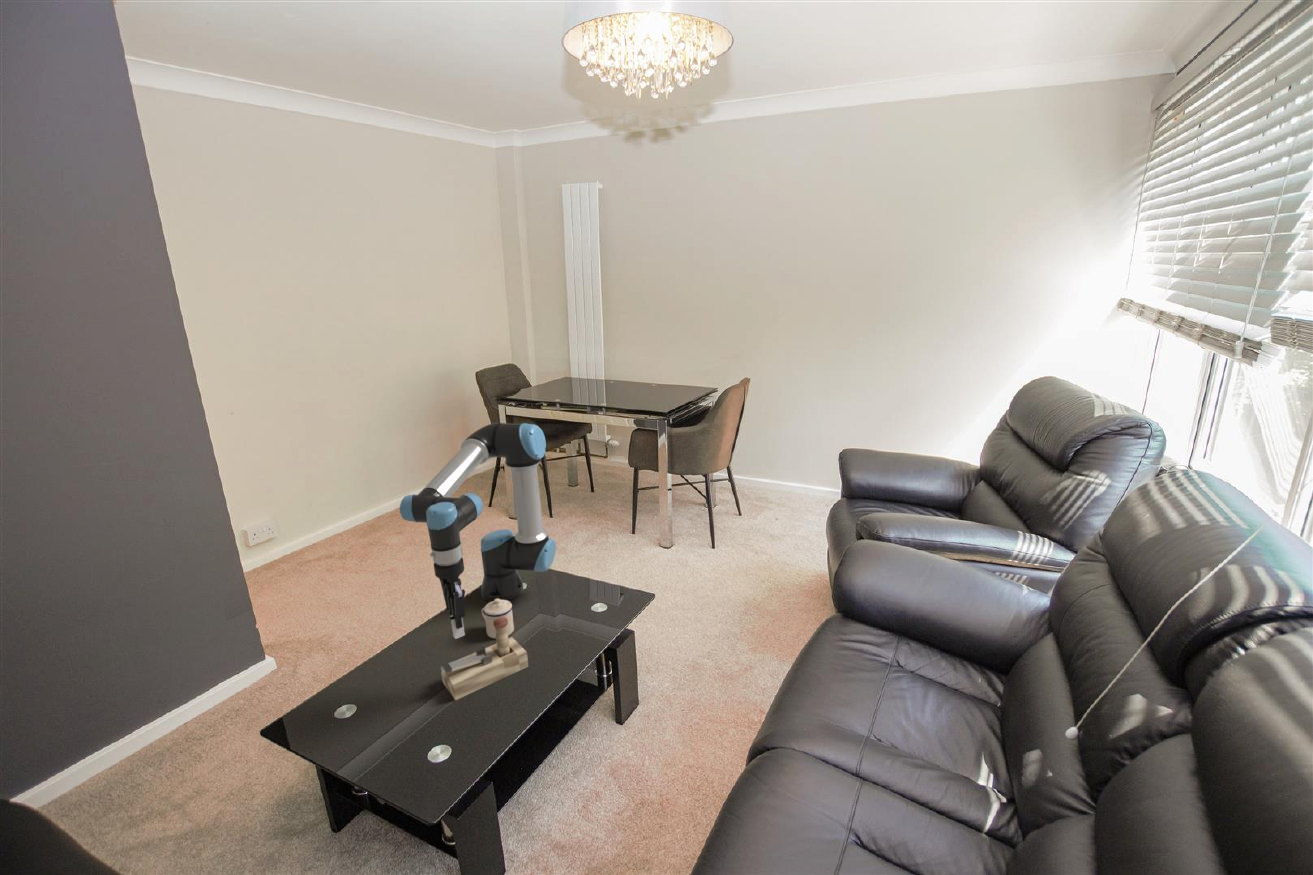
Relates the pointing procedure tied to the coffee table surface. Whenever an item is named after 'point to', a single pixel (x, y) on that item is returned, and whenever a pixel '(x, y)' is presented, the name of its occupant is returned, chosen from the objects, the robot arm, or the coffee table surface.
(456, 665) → the lever
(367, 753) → the coffee table surface
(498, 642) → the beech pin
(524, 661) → the block
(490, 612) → the teacup with lid
